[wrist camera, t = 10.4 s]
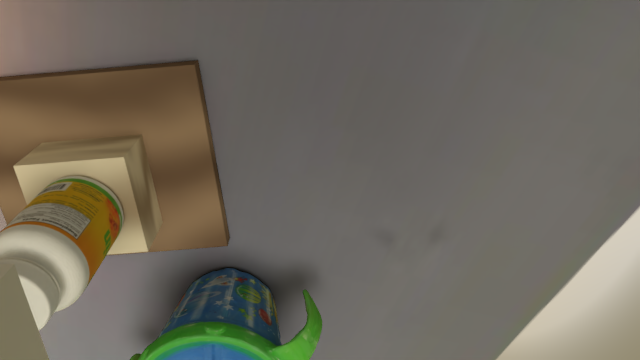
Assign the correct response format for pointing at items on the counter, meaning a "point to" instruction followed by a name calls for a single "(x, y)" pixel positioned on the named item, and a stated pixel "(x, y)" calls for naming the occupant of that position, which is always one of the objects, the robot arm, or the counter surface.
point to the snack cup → (231, 323)
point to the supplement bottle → (61, 242)
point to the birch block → (101, 181)
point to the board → (124, 120)
